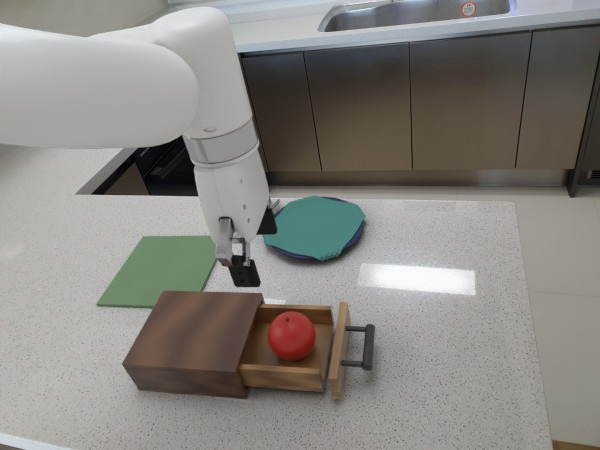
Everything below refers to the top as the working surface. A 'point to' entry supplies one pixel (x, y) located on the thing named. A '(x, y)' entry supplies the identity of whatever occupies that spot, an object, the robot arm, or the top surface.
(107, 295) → the mat
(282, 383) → the drawer
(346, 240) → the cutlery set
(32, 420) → the top surface
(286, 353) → the apple
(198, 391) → the cabinet
